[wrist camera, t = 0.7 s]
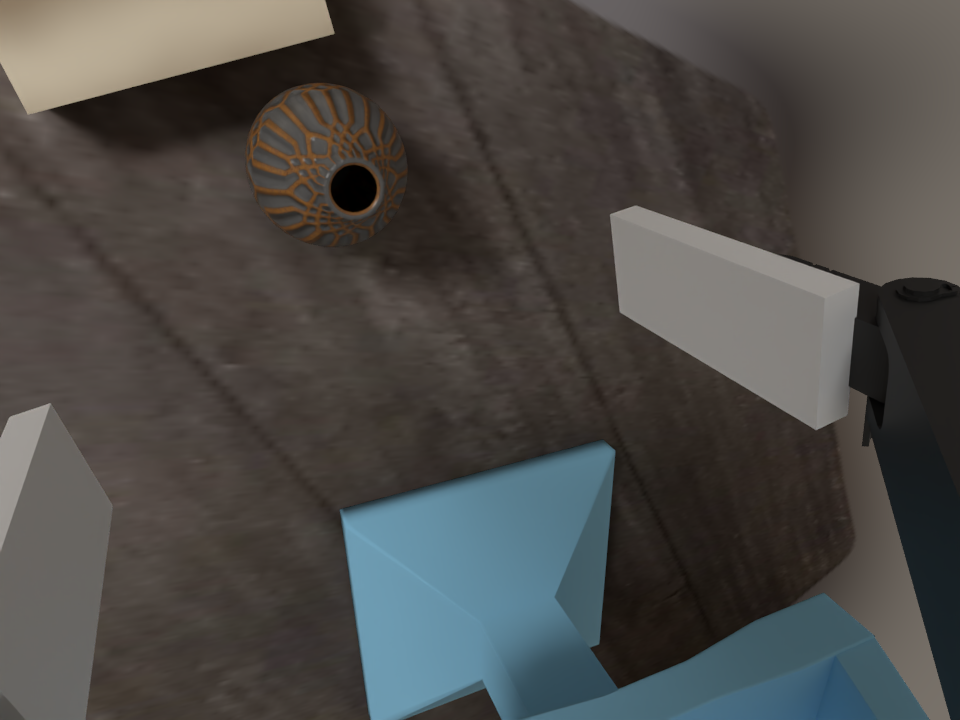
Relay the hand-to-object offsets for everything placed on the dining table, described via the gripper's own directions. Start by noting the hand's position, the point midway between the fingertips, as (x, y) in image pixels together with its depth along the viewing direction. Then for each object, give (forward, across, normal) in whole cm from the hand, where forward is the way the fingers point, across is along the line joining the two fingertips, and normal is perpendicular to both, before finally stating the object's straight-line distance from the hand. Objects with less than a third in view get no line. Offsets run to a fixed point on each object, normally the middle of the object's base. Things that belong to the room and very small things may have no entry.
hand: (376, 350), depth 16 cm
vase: (+21, +2, +1) cm, 21 cm away
